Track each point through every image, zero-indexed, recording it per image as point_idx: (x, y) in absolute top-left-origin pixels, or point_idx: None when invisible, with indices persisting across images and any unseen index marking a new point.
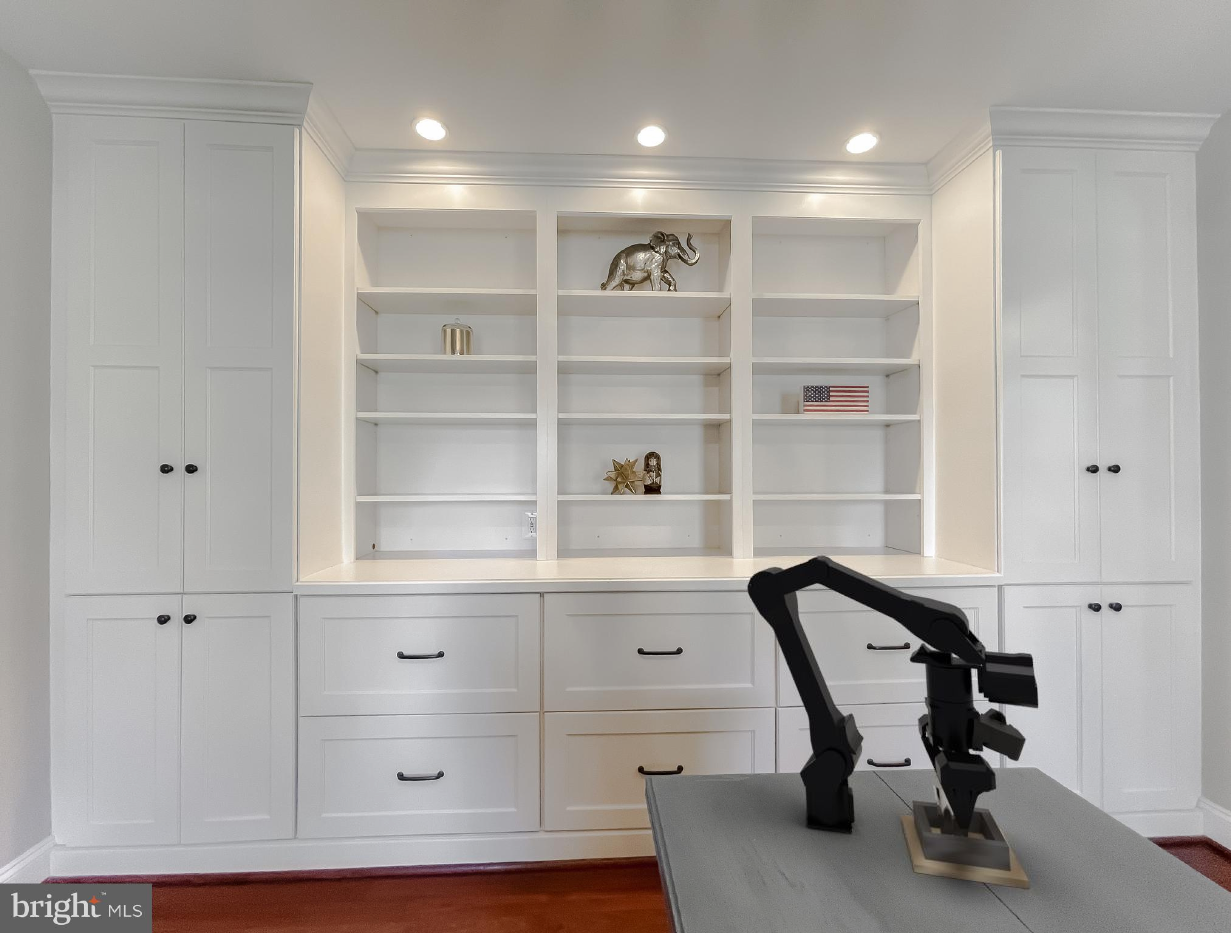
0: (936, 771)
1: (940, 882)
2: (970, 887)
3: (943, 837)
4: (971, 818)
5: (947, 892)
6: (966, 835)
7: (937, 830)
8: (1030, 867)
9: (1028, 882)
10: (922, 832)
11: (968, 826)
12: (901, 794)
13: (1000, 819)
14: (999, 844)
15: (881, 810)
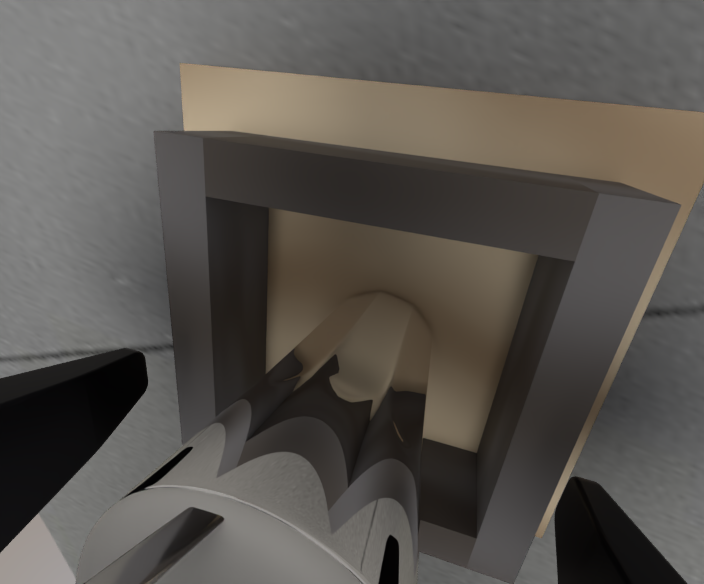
0: (7, 538)
1: (607, 465)
2: (654, 380)
3: (524, 516)
4: (679, 576)
5: (681, 473)
6: (413, 341)
7: (283, 357)
8: (491, 19)
9: None
10: (471, 567)
11: (608, 502)
12: (48, 341)
13: (77, 10)
14: (629, 258)
15: (168, 438)
